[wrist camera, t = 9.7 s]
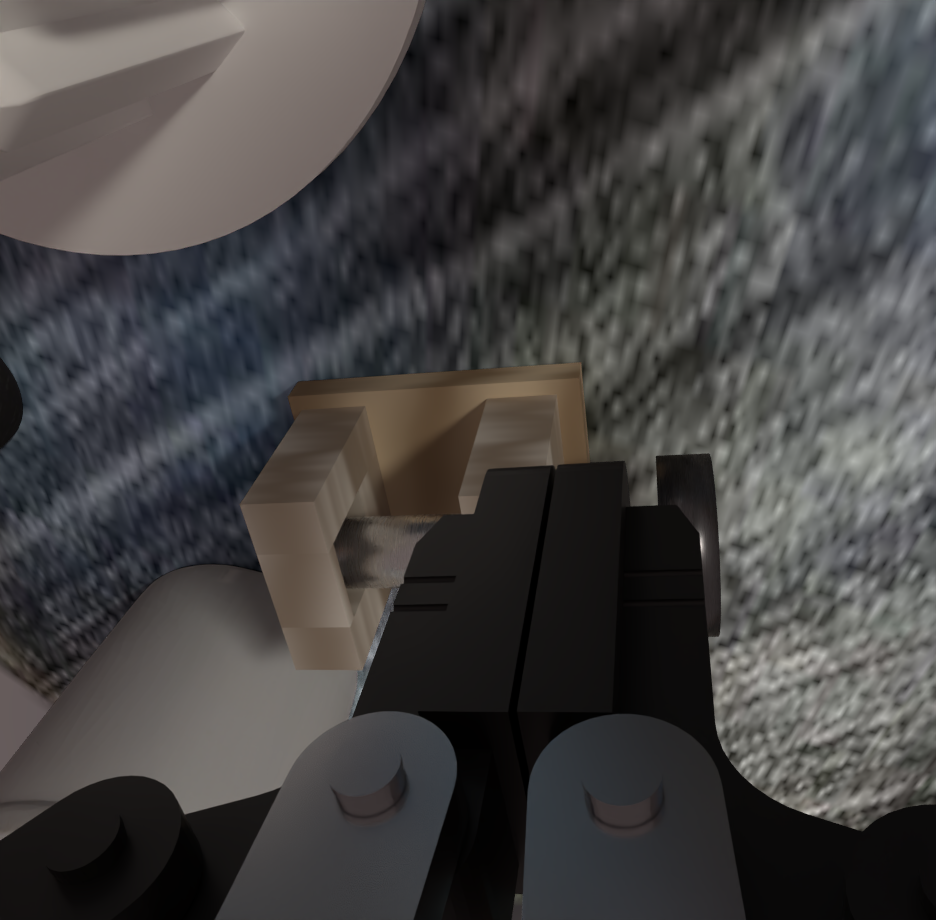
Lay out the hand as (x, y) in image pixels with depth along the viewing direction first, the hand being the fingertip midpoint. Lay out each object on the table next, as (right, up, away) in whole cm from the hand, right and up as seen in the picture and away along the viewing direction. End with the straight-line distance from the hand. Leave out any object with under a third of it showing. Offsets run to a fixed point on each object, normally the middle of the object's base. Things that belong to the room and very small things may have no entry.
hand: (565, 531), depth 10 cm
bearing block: (-2, 0, +32) cm, 32 cm away
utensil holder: (-14, -10, +41) cm, 45 cm away
